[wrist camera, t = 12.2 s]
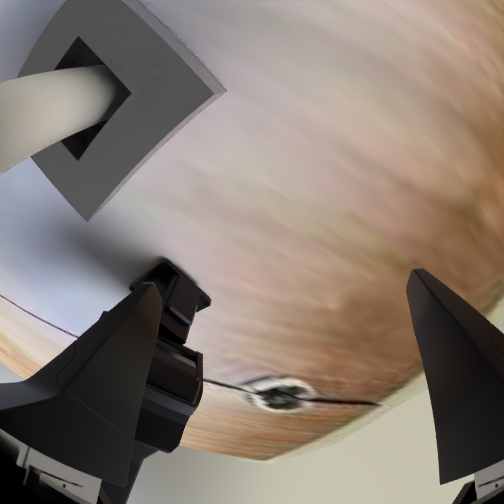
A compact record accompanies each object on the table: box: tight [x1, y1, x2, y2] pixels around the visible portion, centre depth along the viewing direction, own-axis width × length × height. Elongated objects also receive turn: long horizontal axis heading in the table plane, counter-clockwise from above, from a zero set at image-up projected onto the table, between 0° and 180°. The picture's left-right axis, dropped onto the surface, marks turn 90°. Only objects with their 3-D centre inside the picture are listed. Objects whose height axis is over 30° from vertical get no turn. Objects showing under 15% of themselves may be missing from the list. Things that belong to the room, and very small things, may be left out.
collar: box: [17, 0, 227, 222], centre depth 14 cm, size 13×13×4 cm
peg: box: [0, 65, 131, 175], centre depth 10 cm, size 4×4×13 cm
